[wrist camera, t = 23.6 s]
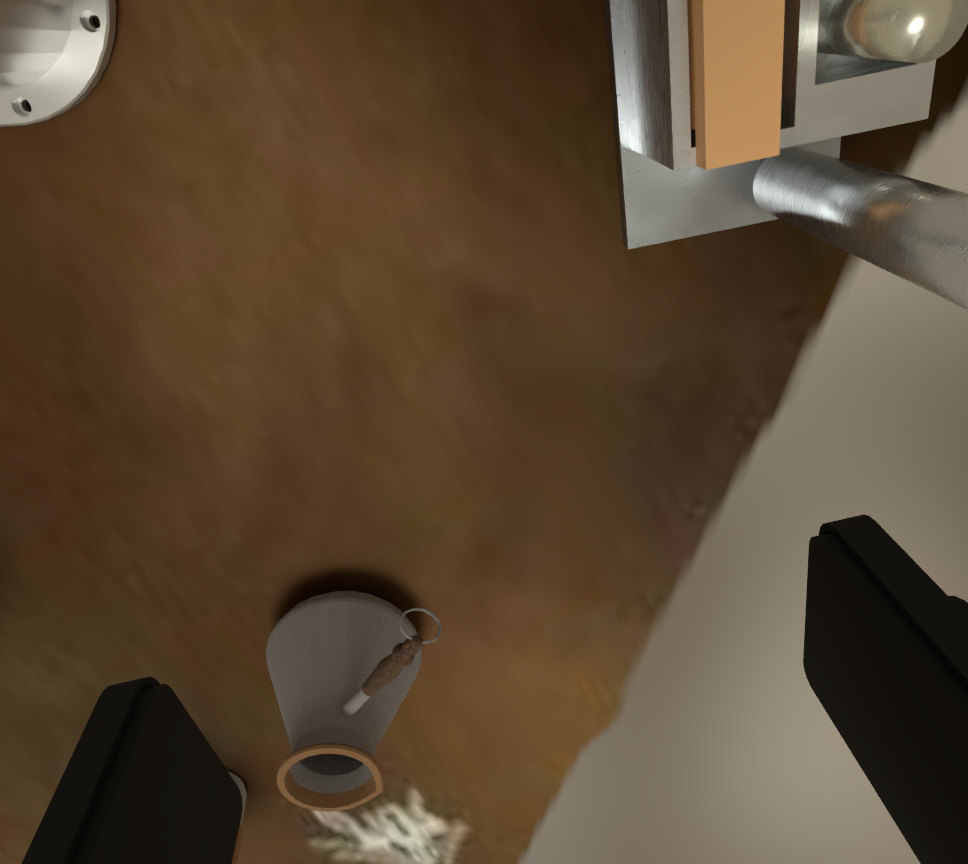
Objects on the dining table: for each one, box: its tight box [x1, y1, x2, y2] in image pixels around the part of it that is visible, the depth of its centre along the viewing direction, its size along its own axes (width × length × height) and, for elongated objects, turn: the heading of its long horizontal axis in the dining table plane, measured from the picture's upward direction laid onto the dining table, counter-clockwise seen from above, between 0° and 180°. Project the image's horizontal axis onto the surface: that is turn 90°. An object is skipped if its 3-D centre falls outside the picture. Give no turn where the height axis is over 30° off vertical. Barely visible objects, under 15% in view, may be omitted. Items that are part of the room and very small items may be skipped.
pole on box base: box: [605, 0, 968, 310], centre depth 27 cm, size 15×12×20 cm
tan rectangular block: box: [687, 0, 785, 170], centre depth 31 cm, size 9×3×8 cm, turn 10°
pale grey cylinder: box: [817, 0, 968, 63], centre depth 28 cm, size 3×3×8 cm
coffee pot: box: [266, 591, 442, 812], centre depth 45 cm, size 21×12×15 cm, turn 156°
